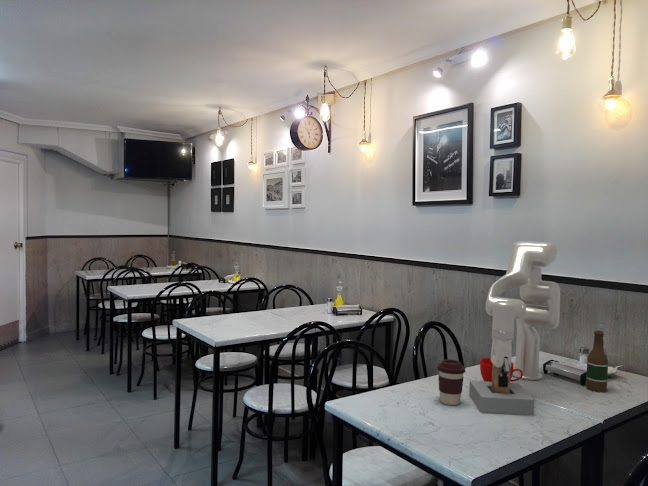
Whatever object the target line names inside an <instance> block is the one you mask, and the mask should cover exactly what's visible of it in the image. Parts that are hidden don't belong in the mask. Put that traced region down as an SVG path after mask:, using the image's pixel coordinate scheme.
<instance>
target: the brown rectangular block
mask: <svg viewBox="0 0 648 486" xmlns="http://www.w3.org/2000/svg"><path fill="white" fill-rule="evenodd" d="M508 365H509V363H508ZM502 367H504V366H502ZM503 370H504V369H502V371H503ZM510 371H511V367H510V368H509V373H508V387H499V386H498V380H499V376H500V367H499V368H497V367H496V366H495V365H494V364H493V368H492V390H491V392H492V393H503V394H509V393H510V383H511V382H510Z"/></svg>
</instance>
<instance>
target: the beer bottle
mask: <svg viewBox="0 0 648 486" xmlns="http://www.w3.org/2000/svg"><path fill="white" fill-rule="evenodd" d="M593 334H594V337H593V345H592V349H591V350H590V352H589V353H588V356H587V360H586V361H587V362H586V376H585V377H586V378H585V388H586V389H587V390H588V391H590V390H591V392H593V391H595V393H600V392H602V393H606V392H607V391H608V389H607V388H608V372H609V360H608V356H607V355H606V353H605V349H604V335H605V333H604V331H602V330H594V332H593Z"/></svg>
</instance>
